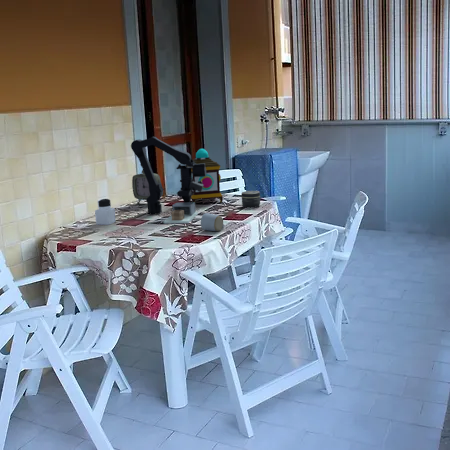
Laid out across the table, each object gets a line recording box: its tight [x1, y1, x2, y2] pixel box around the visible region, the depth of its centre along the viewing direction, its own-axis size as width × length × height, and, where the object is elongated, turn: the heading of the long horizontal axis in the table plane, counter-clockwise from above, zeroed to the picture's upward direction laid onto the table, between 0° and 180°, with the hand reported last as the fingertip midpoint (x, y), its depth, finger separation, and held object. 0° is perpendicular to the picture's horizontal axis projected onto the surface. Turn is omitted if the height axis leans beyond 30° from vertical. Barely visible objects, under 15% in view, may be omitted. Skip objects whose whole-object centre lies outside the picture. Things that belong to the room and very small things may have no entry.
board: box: [163, 211, 199, 225], centre depth 299 cm, size 12×22×4 cm, turn 170°
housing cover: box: [171, 201, 197, 215], centre depth 305 cm, size 10×9×5 cm
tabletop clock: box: [131, 162, 162, 205], centre depth 341 cm, size 14×9×25 cm, turn 58°
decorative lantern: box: [187, 148, 224, 203], centre depth 342 cm, size 20×20×30 cm
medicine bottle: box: [94, 198, 116, 226], centre depth 296 cm, size 7×7×12 cm
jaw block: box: [171, 210, 184, 220], centre depth 294 cm, size 5×5×4 cm
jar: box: [240, 190, 261, 209], centre depth 322 cm, size 10×10×8 cm
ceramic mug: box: [200, 212, 225, 232], centre depth 271 cm, size 11×8×8 cm
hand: (188, 207), depth 314 cm, fingers closed
